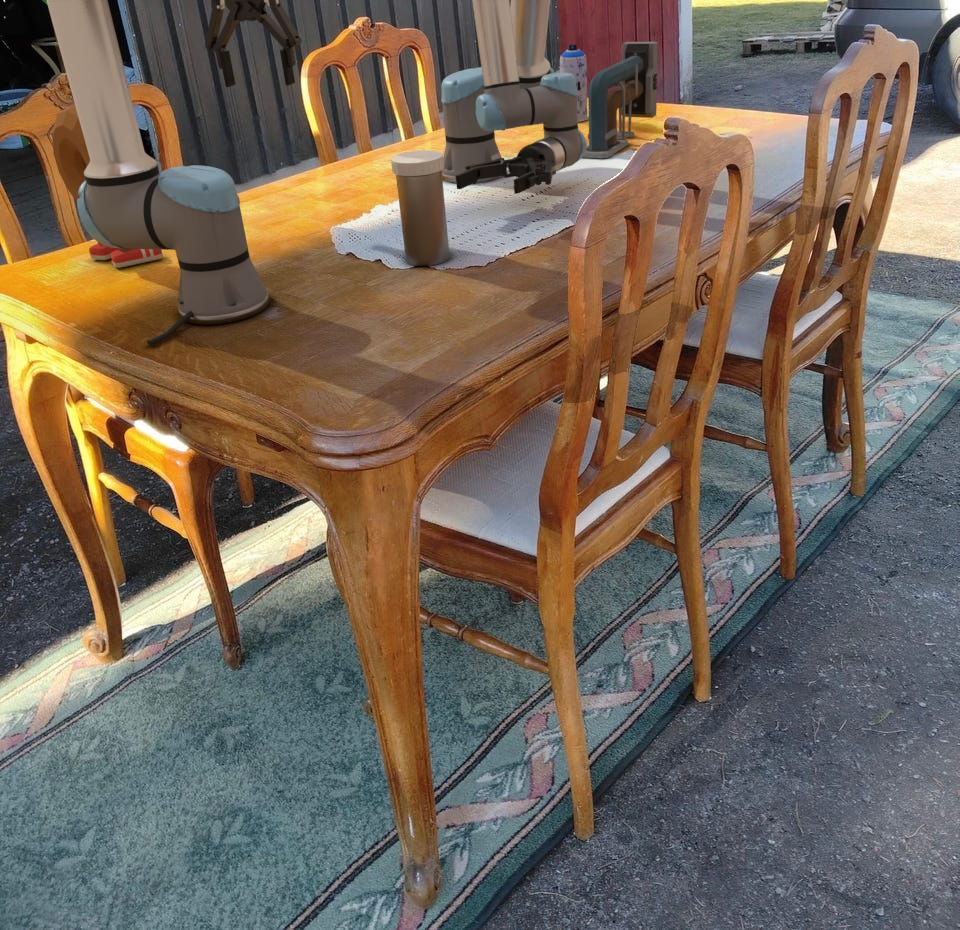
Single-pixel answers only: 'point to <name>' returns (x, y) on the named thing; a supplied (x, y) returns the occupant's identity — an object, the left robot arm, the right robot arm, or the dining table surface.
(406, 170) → the lid
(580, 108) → the aerosol can
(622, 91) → the clamp
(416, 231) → the jar
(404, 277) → the dining table surface
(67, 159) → the toy
